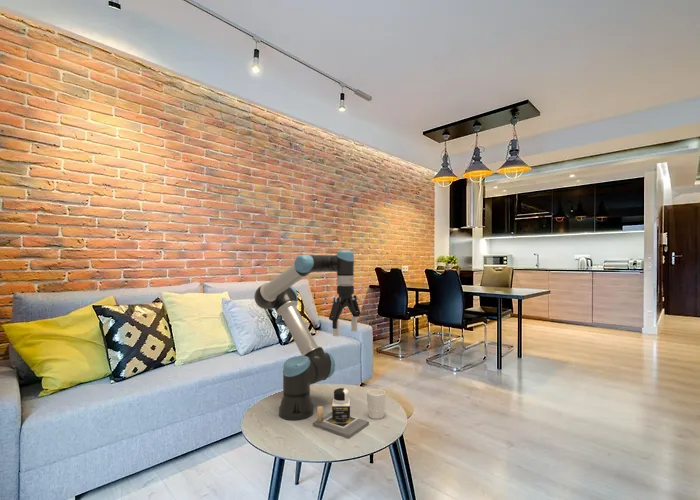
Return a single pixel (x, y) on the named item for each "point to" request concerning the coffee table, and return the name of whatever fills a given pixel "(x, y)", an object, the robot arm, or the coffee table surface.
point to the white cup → (376, 403)
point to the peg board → (339, 424)
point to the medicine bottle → (341, 406)
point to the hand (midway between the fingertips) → (345, 333)
